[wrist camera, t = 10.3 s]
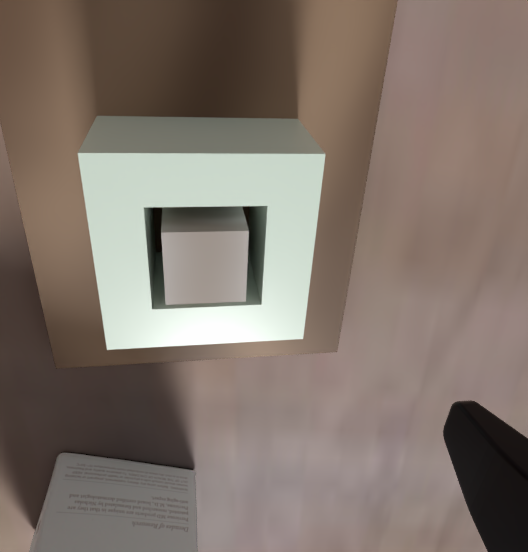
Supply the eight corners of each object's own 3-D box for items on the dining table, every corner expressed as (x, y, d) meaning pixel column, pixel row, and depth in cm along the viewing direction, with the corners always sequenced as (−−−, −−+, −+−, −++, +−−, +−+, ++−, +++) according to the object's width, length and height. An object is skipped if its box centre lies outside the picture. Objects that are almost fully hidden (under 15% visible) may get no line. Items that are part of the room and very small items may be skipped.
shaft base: (384, -8, 16) (463, 2, 11) (330, 335, 23) (365, 420, 19) (-20, -32, 14) (-108, -30, 10) (61, 349, 21) (31, 448, 17)
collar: (297, 118, 16) (325, 153, 13) (283, 281, 20) (302, 338, 17) (96, 115, 15) (77, 153, 12) (118, 287, 19) (106, 349, 16)
